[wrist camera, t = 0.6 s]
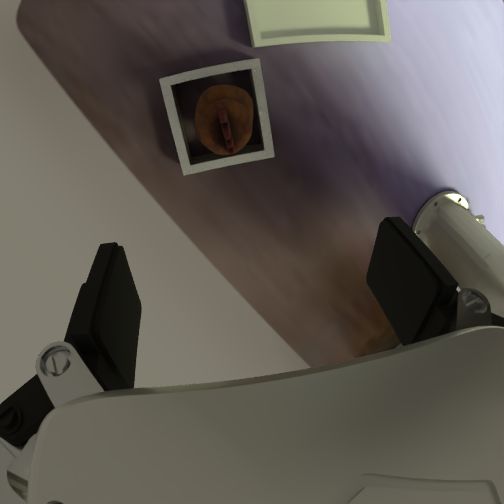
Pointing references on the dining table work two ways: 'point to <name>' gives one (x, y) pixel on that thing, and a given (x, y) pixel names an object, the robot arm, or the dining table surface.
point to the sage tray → (316, 21)
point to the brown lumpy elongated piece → (224, 118)
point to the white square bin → (213, 159)
